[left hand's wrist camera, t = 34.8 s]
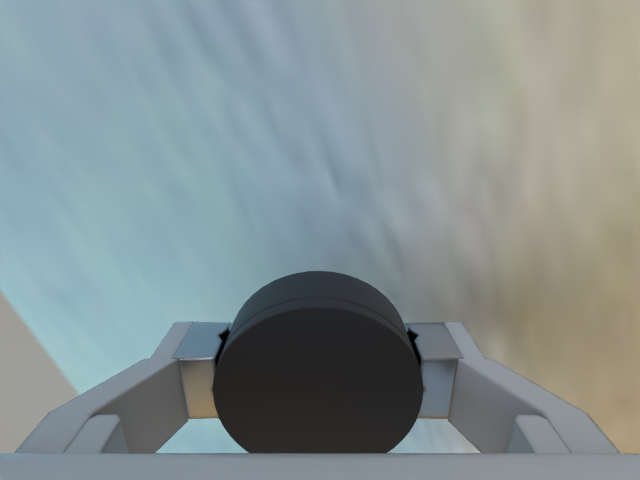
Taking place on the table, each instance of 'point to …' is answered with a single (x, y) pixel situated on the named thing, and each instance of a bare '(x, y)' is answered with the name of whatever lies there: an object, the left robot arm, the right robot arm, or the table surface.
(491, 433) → the left robot arm
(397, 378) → the lid
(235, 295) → the table surface
